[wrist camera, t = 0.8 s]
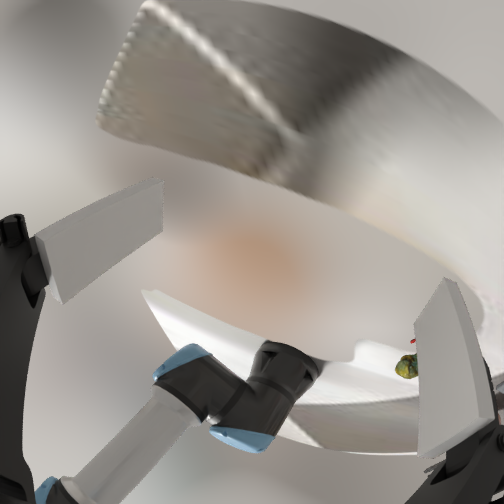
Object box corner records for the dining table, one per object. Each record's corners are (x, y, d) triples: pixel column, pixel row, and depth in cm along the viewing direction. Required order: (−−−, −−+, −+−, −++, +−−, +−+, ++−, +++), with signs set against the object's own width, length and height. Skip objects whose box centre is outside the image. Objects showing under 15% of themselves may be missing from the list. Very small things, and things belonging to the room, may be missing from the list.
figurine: (423, 316, 40) (391, 326, 34) (472, 328, 31) (452, 345, 25) (413, 358, 40) (379, 376, 34) (458, 373, 31) (433, 400, 25)
